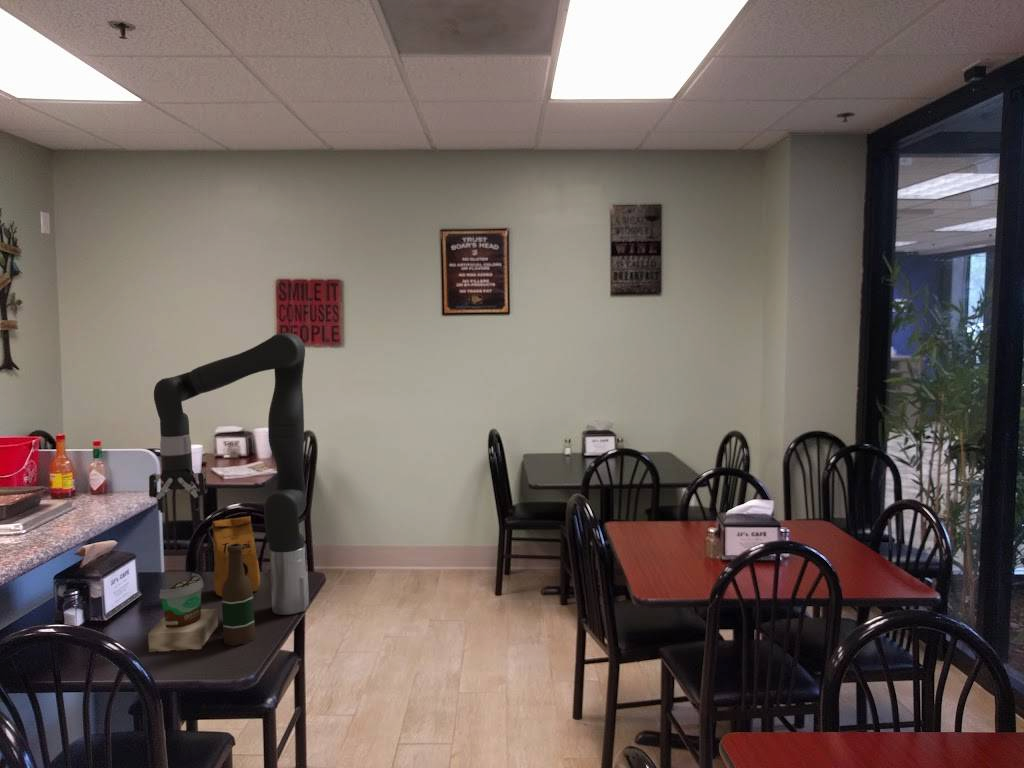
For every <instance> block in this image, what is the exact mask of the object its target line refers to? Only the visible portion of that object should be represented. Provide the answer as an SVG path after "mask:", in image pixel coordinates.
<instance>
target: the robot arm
mask: <svg viewBox="0 0 1024 768" xmlns="http://www.w3.org/2000/svg"><path fill="white" fill-rule="evenodd" d="M305 357H306V347H305V343H304V342H303V339H302V338H300V336H298V335H297V334H295V333H293V332H281V333H280V332H279V333H277V334H274V335H272V336H271V337H270V338H267V340H265V341H263V342H261V343H259V344H257V345H256V346H254V347H252V348H249V349H246V350H245V351H242V352H239V353H237V354H234V355H231V356H228V357H224V358H221V359H217V360H215V361H212V362H209V363H206V364H202V365H201V366H200V365H199V366H197V367H195V368H194V369H192V370H191V371H188V372H185V373H182V374H179V375H175V376H170V377H164V378H162V379H160V380H159V381H157V382H156V383H155V385H154V389H153V400H154V405H155V409H156V412H157V415H158V418H159V426H160V427H159V430H160V444H159V447H160V449H159V453H160V464H161V465H160V466H161V473H160V474H159V473H152V474H150V475H149V477H148V497H150V498H153V499H154V498H155V499H156V501H157V509H158V511H160V512H159V513H161V514H163V513H165V512H166V511H167V509H166V504H167V503H166V497H165V495H166V493H167V492H168V491H169V490H170V491H175V490H180V491H181V490H186V491H187V492H188V493H190V494H191V496H192V497H193V498H192V507H193V512H197V511H199V509H201V507H202V504H201V503H202V502H201V496H204V495H205V494H207V493H208V485H207V476H206V471H200V472H194V469H193V455H192V441H191V437H190V436H191V435H190V420H189V416H188V415H187V413H185V412H184V410H183V405H182V404H183V403H182V402H185V401H188V400H189V399H192V398H195V397H197V396H199V395H202V394H206V393H209V392H213V391H215V390H218V389H220V388H222V387H225V386H229V385H231V384H233V383H235V382H237V381H240V380H241V379H243V378H246V377H248V376H251V375H253V374H257V373H260V372H265V371H270V370H274V389H273V394H272V397H271V398H272V399H271V402H270V407H269V411H268V419H267V420H268V421H267V422H268V423H267V425H268V427H267V429H268V432H267V433H268V434H267V435H268V436H267V437H268V445H269V447H270V451H271V455H272V457H273V459H274V462H275V466H276V487H275V492H273V493H272V494H271V495H269V496H268V497H267V499H266V500H265V502H264V505H263V506H264V507H263V518H264V520H263V521H264V529H265V538H266V542H267V543H268V551H269V569H270V586H271V587H270V590H271V606H272V607H271V610H272V612H273V614H276V615H280V616H288V615H295V614H298V613H303V612H306V611H307V609H308V607H309V604H310V596H309V595H310V594H309V593H310V592H309V576H308V575H309V573H308V572H309V571H308V570H306V566H307V565H306V548H305V545H306V544H305V536H304V535H303V534H302V533H301V532H300V524H299V522H300V521H299V518H300V517H301V516H302V515H303V513H305V510H306V507H307V493H306V484H305V475H304V460H305V459H304V457H305V455H304V453H305V450H304V449H305V448H304V447H305V446H304V444H305V442H304V441H305V418H304V417H305V414H304V394H303V392H304V391H303V378H304V377H303V375H304V368H305V367H304V365H305ZM194 478H195V479H196V481H197V482H198V484H199V485H198V487H199V489H198V488H197V486H196V484H195V483H194V482H193V480H194ZM160 480H161V481H162V482H163V486H162V487H161V489H160V491H158V483H159V482H160Z"/></svg>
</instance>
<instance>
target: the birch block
mask: <svg viewBox="0 0 1024 768" xmlns="http://www.w3.org/2000/svg"><path fill="white" fill-rule="evenodd" d="M218 626H219V617H218V608H210V609H209V608H206V609H202V608H201V618H200V619H199V620H198V621H196V622H195V623H192V624H190V625H186V626H182V627H176V628H166V622H165V616H164V617H162V618H161V620H160V621H159V622H158V623H157V624H156V625H155V626H154V627H153V628H152V629H151V630H150V631H149V633H148V634H147V637H148V639H147V640H148V652H149V653H155V651H159V652H171V651H170V650H176V651H187V650H186V649H193V650H201V649H202V648H203V647H204V646H205V644H206V643H207V641H208V640H209V639H210V637H211V636H212V635H213V633H214V632H215V630H216V629H217V628H218ZM202 646H203V647H202Z"/></svg>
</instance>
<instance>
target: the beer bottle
mask: <svg viewBox="0 0 1024 768" xmlns="http://www.w3.org/2000/svg"><path fill="white" fill-rule="evenodd" d="M242 549H243V547H242V545H241V544H237V543H236V544H231V545H229V546H228V548H227V551H228V552H229V567H228V577H227V579H226V581H225V582H224V585H223V588H222V596H221V613H222V626H223V639H224V640H223V641H224V644H225V645H230V646H234V645H236V646H239V645H240V644H242V645H246V643H247V644H249V643H250V642H252V641H253V639H254V640H255V639H256V638H255V637H256V629H255V627H256V626H255V625H256V623H255V608H254V607H255V606H254V591H253V590H252V585H251V582H250V580H249V579H248V578H247V576H246V575H245V573H244V568H243V559H242V551H241V550H242ZM251 640H252V641H251ZM240 646H241V645H240ZM234 647H235V646H234Z"/></svg>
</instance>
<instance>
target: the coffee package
mask: <svg viewBox="0 0 1024 768" xmlns="http://www.w3.org/2000/svg"><path fill="white" fill-rule="evenodd" d="M211 528H212V531H213V533H212V534H213V537H212V540H213V543H212V544H213V558H214V569H213V585H214V587H213V588H214V592H215V594H216V595H217V596H219V597H222V588H223V585H224V582H225V581H226V579H227V577H228V567H229V552H228V551H227V548H228V546H229V545H231V544H236V543H237V544H241V545H242V547H243V549H242V550H241V551H242V559H243V568H244V573H245V575H246V576H247V578H248V579H249V580H250V582H251V585H252V590H253V592H258V591H259V588H260V584H261V582H260V581H261V573H260V565H259V561H258V556H257V549H256V546H255V537H254V532H253V527H252V518H251V515H249V516H241V517H236V518H235V517H234V518H227V519H220V520H219V519H218V520H212V524H211Z"/></svg>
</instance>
